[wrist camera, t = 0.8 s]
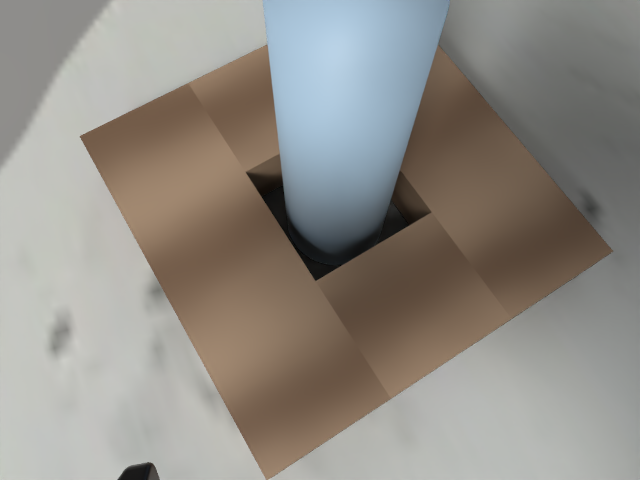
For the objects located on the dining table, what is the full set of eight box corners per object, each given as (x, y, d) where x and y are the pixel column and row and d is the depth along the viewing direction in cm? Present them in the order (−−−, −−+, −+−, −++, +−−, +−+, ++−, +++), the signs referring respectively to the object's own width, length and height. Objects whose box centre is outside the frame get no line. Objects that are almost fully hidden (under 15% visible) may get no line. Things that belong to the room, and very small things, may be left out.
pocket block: (580, 273, 26) (613, 251, 23) (272, 477, 23) (266, 480, 20) (381, 28, 30) (388, -15, 28) (103, 169, 27) (79, 136, 24)
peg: (400, 234, 26) (488, 14, 13) (319, 282, 25) (326, 98, 12) (348, 162, 28) (381, -105, 14) (269, 205, 27) (228, -36, 14)
